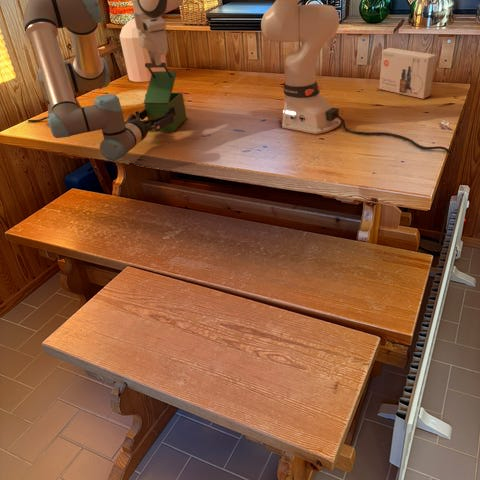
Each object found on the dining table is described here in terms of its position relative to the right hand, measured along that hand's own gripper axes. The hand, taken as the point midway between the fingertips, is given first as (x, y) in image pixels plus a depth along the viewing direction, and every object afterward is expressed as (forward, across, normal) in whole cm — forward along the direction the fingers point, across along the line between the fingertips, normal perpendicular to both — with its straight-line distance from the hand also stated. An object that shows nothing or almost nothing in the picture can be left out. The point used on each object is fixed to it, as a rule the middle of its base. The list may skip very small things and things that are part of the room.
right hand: (156, 63), depth 166 cm
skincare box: (+24, +32, +92) cm, 100 cm away
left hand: (+17, +1, -2) cm, 17 cm away
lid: (+9, -1, 0) cm, 9 cm away
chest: (+24, -1, +1) cm, 24 cm away
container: (+24, -76, +19) cm, 82 cm away
